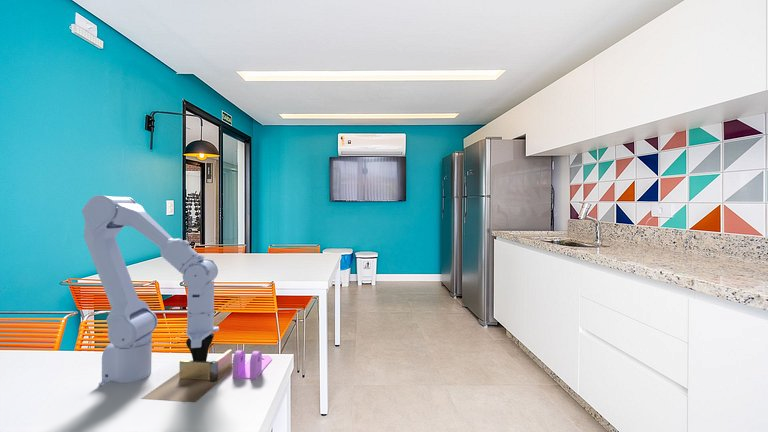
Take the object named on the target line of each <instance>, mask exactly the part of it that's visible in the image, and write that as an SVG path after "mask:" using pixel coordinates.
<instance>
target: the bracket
mask: <svg viewBox="0 0 768 432" xmlns="http://www.w3.org/2000/svg"><path fill="white" fill-rule="evenodd" d="M262 354H263V353H262V351H260V350H253V351H252V353H251V355H250V359H249V360H248V361H247V362H246V352H245V350H239V349H238V350H236V351H234V353H233V356H232V363H233V370H232V379H242V380H243V379H244V380H245V379H247V380H256V379H257V378H258V377H259V376H260V375H261V373H262V372H263V371H264V370H265V369H266V368H267V367H268V365H269V364H270V363H271V362H272V359H273V358H272V357H271V356H270V355H262Z"/></svg>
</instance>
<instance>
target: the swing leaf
mask: <svg viewBox="0 0 768 432" xmlns="http://www.w3.org/2000/svg"><path fill="white" fill-rule="evenodd" d="M210 362H211V361H209V360H208V361H207V360H206V361H193V359H192V360H191V359H181V360H179V369H178V370H179V372H178V373H179V378H185V379H201V380H208V379H210Z"/></svg>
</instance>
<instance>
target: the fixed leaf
mask: <svg viewBox="0 0 768 432" xmlns="http://www.w3.org/2000/svg"><path fill="white" fill-rule="evenodd" d="M232 363H233V350H232V349H228V350H227V351H225V352H224V353H223V354H222V355H220V356H218V357H217V358H216V359H215V360H212V361H210V380H209V381H210V382H215V381H217V380H218V378H219V377H220V376H221V375H222V374H223V373H224V372H226V371H227V370H228V369H229V368H230V367H231V366H232Z"/></svg>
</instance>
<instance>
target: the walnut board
mask: <svg viewBox="0 0 768 432" xmlns="http://www.w3.org/2000/svg"><path fill="white" fill-rule="evenodd" d="M230 372H233V362H232V366H231V367H230V368H229V369H228V370H227V371H226V372H224V373H223V374H222V375H221V376H220V377H219V378H218V380H217V381H215V382H210V381H209V380H210V379H208V380H201V379H185V378H179V372H177V373H175V374H174V375H173V376H172V377H170V378H169V379H167V380H166V381H164V382H163V383H161V384H160V385H158V386H157V387H156V388H154V389H153V390H151V391H150V392H149V393H147V394H145V395H144V396H142V398H141V399H142V400H153V401H155V400H157V401H168V402H169V401H170V402H185V403H197V402H198V401H199V400H200V399H201V398H202V397H203V396H205V395H206V394H207V393H208V392H209V391H210V390H212V389H213V388H214V387H215V386H216V385H217V384H218V383H220V381H222V380H223V379H224V378H226V376H227V375H229V374H230Z"/></svg>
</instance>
